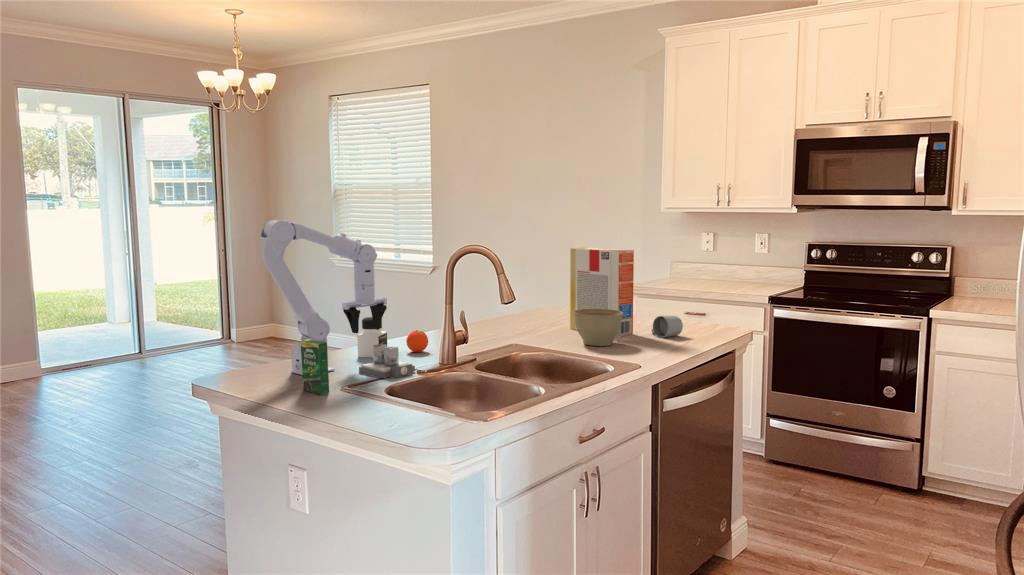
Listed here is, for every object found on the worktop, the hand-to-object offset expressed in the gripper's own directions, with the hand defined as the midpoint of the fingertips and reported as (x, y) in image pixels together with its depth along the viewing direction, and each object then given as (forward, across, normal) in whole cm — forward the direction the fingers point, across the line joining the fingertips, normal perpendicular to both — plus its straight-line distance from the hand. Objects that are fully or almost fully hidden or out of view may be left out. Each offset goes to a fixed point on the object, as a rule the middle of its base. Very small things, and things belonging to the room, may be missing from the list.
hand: (365, 331), depth 218 cm
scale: (+10, -2, -14) cm, 17 cm away
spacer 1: (+8, -3, -10) cm, 13 cm away
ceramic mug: (+10, +96, -43) cm, 106 cm away
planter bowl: (+10, +69, -34) cm, 78 cm away
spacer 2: (+8, -3, -15) cm, 17 cm away
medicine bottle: (+10, +9, +9) cm, 16 cm away
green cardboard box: (+10, -28, -16) cm, 34 cm away
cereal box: (+10, +89, -21) cm, 92 cm away
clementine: (+10, +22, +2) cm, 24 cm away
